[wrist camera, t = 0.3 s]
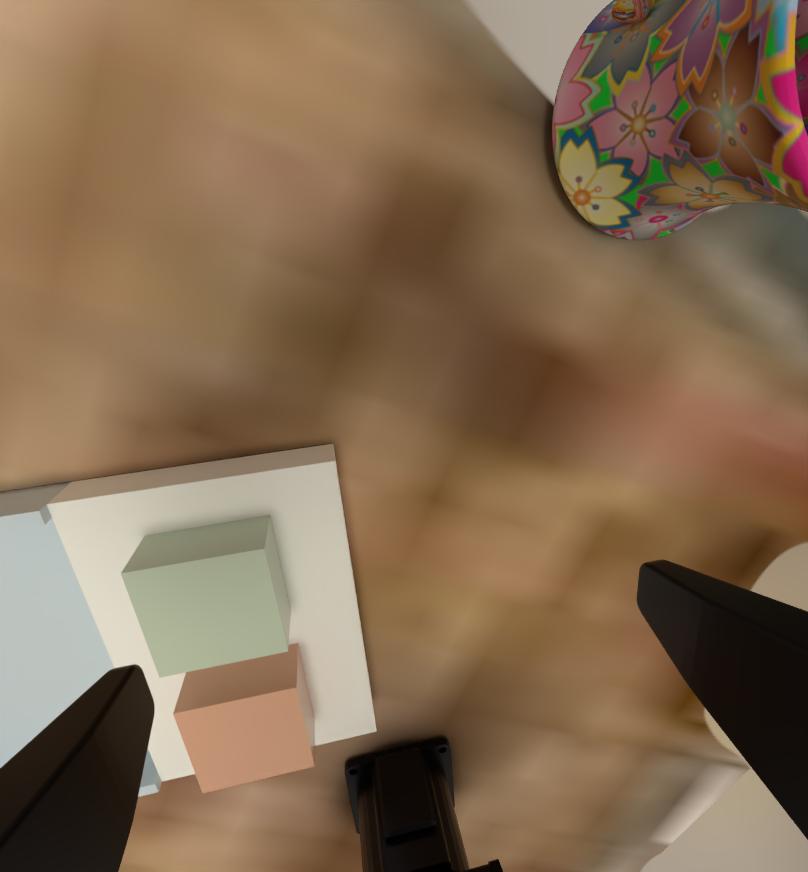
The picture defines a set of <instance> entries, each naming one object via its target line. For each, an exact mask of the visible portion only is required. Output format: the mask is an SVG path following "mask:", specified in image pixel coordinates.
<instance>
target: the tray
mask: <svg viewBox="0 0 808 872" xmlns="http://www.w3.org/2000/svg"><path fill="white" fill-rule="evenodd" d="M70 483H71V482H67V483H60V484H53V485H46V486H40V487H33V488H26V489H19V490H12V491H5V492H0V768H1V767H2V766H3V765H4V764H5V763H7V762H8V761H9V760H10V759H11V758H12V757H13V756H14V755H15V754H17V753H18V752H19V751H20V750H21V749H22V748H23V747H24V746H25V745H27V744H28V743H29V742H30V741H31V740H32V739H33V738H34V737H35V736H37V735H38V734H39V733H40V732H41V731H42V730H43V729H44V728H45V727H47V726H48V725H49V724H50V723H51V722H52V721H53V720H54V719H55V718H57V717H58V716H59V715H60V714H61V713H62V712H63V711H64V710H65V709H67V708H68V707H69V706H70V705H71V704H72V703H73V702H74V701H75V700H76V699H78V698H79V697H80V696H81V695H82V694H83V693H84V692H85V691H86V690H88V689H89V688H90V687H91V686H92V685H93V684H94V683H95V682H96V681H98V680H99V679H100V678H101V677H102V676H103V675H104V674H105V673H107V672H108V671H109V670H111V669H114V666H113V663H112V661H111V659H110V656H109V654H108V651H107V649H106V647H105V644H104V642H103V639H102V637H101V635H100V632H99V630H98V627H97V625H96V623H95V620H94V618H93V615H92V613H91V611H90V608H89V606H88V603H87V601H86V599H85V596H84V594H83V591H82V589H81V587H80V584H79V582H78V579H77V577H76V575H75V572H74V570H73V567H72V565H71V563H70V560H69V558H68V555H67V553H66V550H65V548H64V546H63V543H62V541H61V538H60V536H59V534H58V531H57V529H56V526H55V524H54V522H53V519H52V517H51V514H50V512H49V510H48V507H47V505H46V504H47V503H49V502H50V501H51V500H52V499H53V498H54V497H55V496H56V495H58V494H59V493H60V492H61V491H62V490H63V489H64V488H65V487H67V486H68V485H69V484H70ZM161 782H162V781H161V779H160V776H159V774H158V772H157V769H156V767H155V764H154V762H153V760H152V757H151V755H150V752H149V750H148V749H147V754H146V759H145V764H144V769H143V774H142V780H141V785H140V790H139V795H138V797H140V796H144V795H148V794H152V793H157V792H159V789H160V786H161Z"/></svg>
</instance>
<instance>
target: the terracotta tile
mask: <svg viewBox="0 0 808 872" xmlns="http://www.w3.org/2000/svg"><path fill="white" fill-rule="evenodd" d="M173 715H174V718H175V720H176V723H177V726H178V728H179V731H180V734H181V737H182V739H183V742H184V745H185V747H186V750H187V753H188V755H189V758H190V761H191V763H192V766H193V769H194V771H195V774H196V777H197V779H198V782H199V785H200V787H201V790H202V793H206V792H210V791H214V790H218V789H223V788H227V787H231V786H235V785H239V784H243V783H248V782H252V781H256V780H260V779H264V778H269V777H273V776H277V775H281V774H285V773H289V772H294V771H298V770H302V769H306V768H310V767H315V716H314V712H313V707H312V703H311V698H310V694H309V689H308V685H307V680H306V675H305V671H304V666H303V662H302V657H301V653H300V648H299V643H296V644H291V645H289V646H288V652H283V653H278V654H273V655H268V656H264V657H259V658H254V659H249V660H244V661H239V662H234V663H229V664H224V665H219V666H214V667H210V668H205V669H200V670H195V671H190V672H186V674H185V678H184V681H183V684H182V687H181V690H180V693H179V697H178V700H177V703H176V706H175V709H174V712H173Z"/></svg>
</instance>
